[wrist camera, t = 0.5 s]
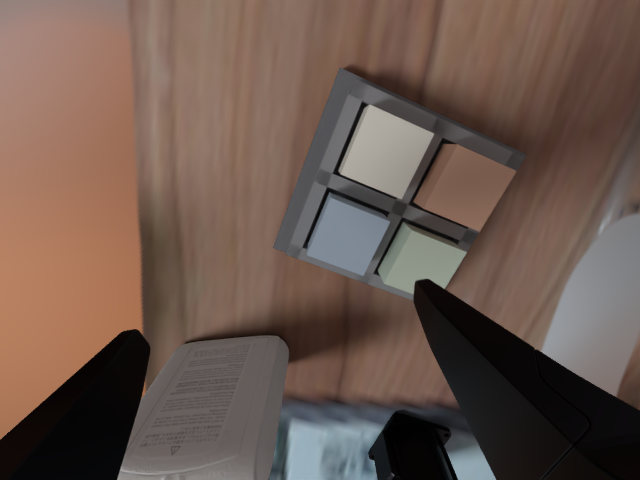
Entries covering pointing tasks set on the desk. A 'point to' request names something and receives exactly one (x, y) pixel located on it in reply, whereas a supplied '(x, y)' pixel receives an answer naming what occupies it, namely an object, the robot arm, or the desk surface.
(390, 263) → the sage key
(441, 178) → the terracotta key
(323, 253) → the slate-blue key
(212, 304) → the desk surface
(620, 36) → the desk surface
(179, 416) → the photo printer
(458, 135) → the keypad board
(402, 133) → the cream key
